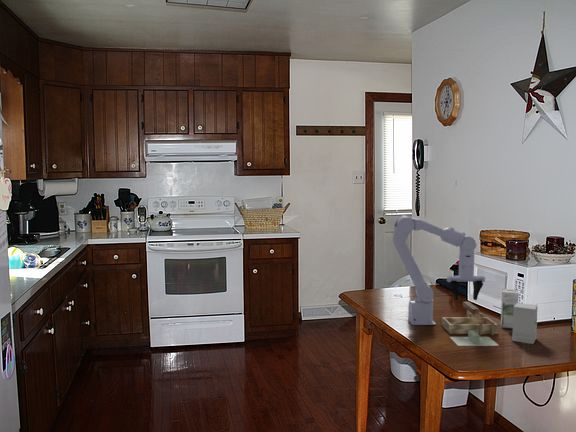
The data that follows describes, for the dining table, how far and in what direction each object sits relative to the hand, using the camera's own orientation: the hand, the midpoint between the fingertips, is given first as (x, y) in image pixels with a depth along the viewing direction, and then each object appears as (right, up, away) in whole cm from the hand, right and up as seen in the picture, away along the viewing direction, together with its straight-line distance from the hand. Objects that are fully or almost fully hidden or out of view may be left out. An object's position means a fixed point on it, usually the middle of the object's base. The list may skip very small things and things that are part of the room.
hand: (465, 299), depth 213 cm
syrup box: (+16, -10, -3) cm, 19 cm away
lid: (-4, -13, -21) cm, 24 cm away
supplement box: (+15, -12, -19) cm, 27 cm away
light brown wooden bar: (+3, -5, +4) cm, 7 cm away
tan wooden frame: (-1, -11, -7) cm, 13 cm away
